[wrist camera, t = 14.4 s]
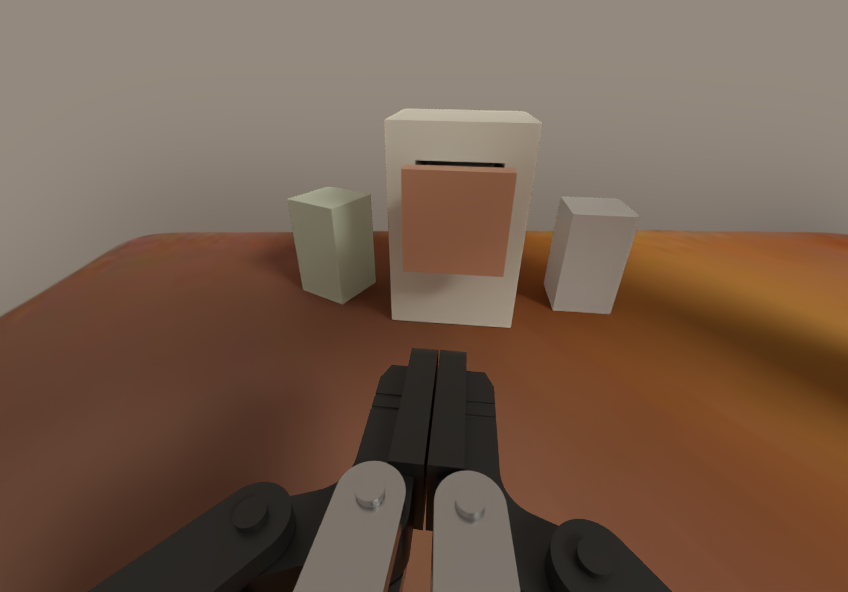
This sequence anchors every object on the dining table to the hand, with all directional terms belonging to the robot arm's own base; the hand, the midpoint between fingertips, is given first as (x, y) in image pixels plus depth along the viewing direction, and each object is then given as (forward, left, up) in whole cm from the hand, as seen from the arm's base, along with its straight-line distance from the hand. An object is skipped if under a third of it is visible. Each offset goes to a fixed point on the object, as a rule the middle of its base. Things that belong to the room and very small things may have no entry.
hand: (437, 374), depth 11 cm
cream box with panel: (+3, -19, -9) cm, 22 cm away
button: (+3, -16, -3) cm, 17 cm away
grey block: (-7, -22, -9) cm, 25 cm away
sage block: (+13, -18, -9) cm, 24 cm away
